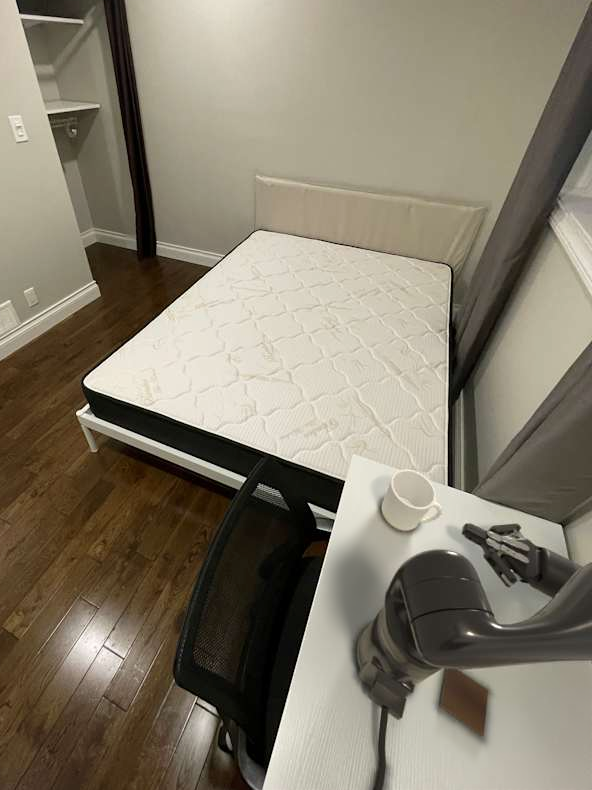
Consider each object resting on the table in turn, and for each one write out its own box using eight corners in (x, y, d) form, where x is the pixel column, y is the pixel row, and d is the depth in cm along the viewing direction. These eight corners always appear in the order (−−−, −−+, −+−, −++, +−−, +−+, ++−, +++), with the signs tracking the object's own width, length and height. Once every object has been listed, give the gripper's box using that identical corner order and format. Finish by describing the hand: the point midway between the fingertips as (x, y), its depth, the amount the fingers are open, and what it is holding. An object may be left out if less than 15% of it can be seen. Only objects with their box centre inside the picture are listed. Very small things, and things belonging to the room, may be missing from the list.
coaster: (481, 736, 55) (483, 735, 54) (439, 706, 57) (441, 705, 57) (485, 691, 59) (488, 690, 58) (446, 665, 61) (448, 663, 61)
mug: (372, 515, 81) (383, 490, 75) (389, 487, 86) (401, 461, 80) (421, 549, 76) (438, 525, 69) (435, 517, 81) (452, 492, 75)
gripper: (576, 540, 68) (475, 492, 75) (579, 610, 59) (465, 549, 66) (554, 557, 73) (461, 511, 80) (554, 624, 64) (450, 565, 71)
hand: (463, 528), depth 73 cm, fingers closed
